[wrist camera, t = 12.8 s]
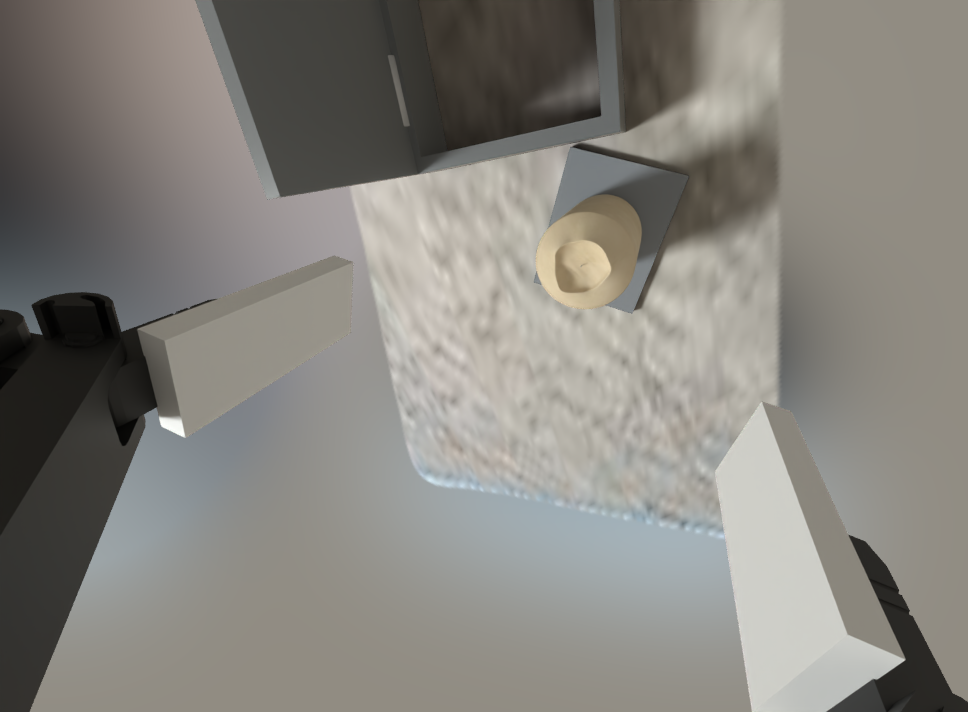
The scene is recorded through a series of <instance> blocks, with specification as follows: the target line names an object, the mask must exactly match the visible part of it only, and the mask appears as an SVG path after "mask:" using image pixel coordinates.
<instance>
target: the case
mask: <svg viewBox="0 0 968 712" xmlns="http://www.w3.org/2000/svg"><path fill="white" fill-rule="evenodd" d="M195 1H196V4H197V7H198V9H199V12H200V14H201V17H202V20H203V23H204V26H205V28H206V31H207V34H208V37H209V40H210V43H211V45H212V48H213V51H214V54H215V56H216V59H217V62H218V65H219V67H220V70H221V73H222V75H223V79H224V81H225V84H226V87H227V89H228V93H229V95H230V98H231V101H232V103H233V106H234V109H235V112H236V115H237V117H238V120H239V123H240V126H241V128H242V131H243V134H244V137H245V140H246V142H247V145H248V148H249V150H250V153H251V156H252V159H253V162H254V165H255V167H256V170H257V173H258V176H259V178H260V181H261V184H262V187H263V190H264V192H265V195H266V198H267V200H268V199H274V198H280V197H286V196H292V195H298V194H304V193H310V192H317V191H323V190H329V189H334V188H341V187H346V186H353V185H359V184H365V183H371V182H377V181H383V180H389V179H395V178H401V177H407V176H412V175H418V174H424V173H431V172H437V171H442V170H447V169H452V168H456V167H461V166H466V165H471V164H475V163H480V162H485V161H490V160H495V159H499V158H504V157H509V156H514V155H518V154H523V153H528V152H533V151H538V150H542V149H547V148H552V147H557V146H561V145H566V144H571V143H576V142H581V141H585V140H590V139H595V138H600V137H604V136H609V135H614V134H619V133H624V132H626V121H625V100H624V80H623V59H622V39H621V19H620V0H593V2H594V17H595V31H596V46H597V61H598V75H599V90H600V105H601V116H600V117H596V118H591V119H587V120H583V121H578V122H574V123H569V124H565V125H561V126H556V127H552V128H547V129H543V130H539V131H534V132H530V133H526V134H521V135H517V136H512V137H508V138H504V139H499V140H495V141H490V142H486V143H482V144H477V145H473V146H468V147H464V148H460V149H455V150H451V151H447V146H446V141H445V136H444V131H443V126H442V121H441V116H440V110H439V105H438V100H437V95H436V90H435V85H434V80H433V75H432V70H431V65H430V60H429V55H428V50H427V45H426V39H425V34H424V29H423V24H422V19H421V14H420V9H419V4H418V0H195Z"/></svg>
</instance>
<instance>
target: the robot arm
mask: <svg viewBox="0 0 968 712" xmlns="http://www.w3.org/2000/svg"><path fill="white" fill-rule="evenodd" d="M352 284H353V262H351V261H348V260H345V259H342V258H339V257H336V256H332V257H329V258H327V259H324V260H321V261H319V262H316V263H313V264H310V265H308V266H305V267H302V268H300V269H297V270H294V271H292V272H290V273H286V274H284V275H281V276H278V277H276V278H273V279H270V280H267V281H265V282H262V283H259V284H257V285H254V286H251V287H249V288H246V289H243V290H241V291H238V292H235V293H233V294H230V295H227V296H225V297H222V298H219V299H213V300H208V301H205V302H202V303H200V304H197V305H194V306H191V307H190V309H188V308H186V309H183V310H180V311H178V312H176V313H175V314H169V315H167V316H164V317H161V318H159V319H156V320H153V321H150V322H148V323H145V324H142V325H140V326H137V327H134V328H131V329H129V330H126V331H123V332H121V329H120V325H119V322H118V318H117V314H116V311H115V307H114V303H113V301H112V300H111V299H110V298H109V297H107V296H104V295H101V294H96V293H85V292H81V293H65V294H59V295H54V296H50V297H47V298H44V299H41V300H39V301H37V302H36V303H34V304H32V308H33V310H34V313H35V315H36V318H37V321H38V324H39V326H40V329H41V331H42V334H43V335H40V334H34V333H30V332H29V329H28V327H27V324H26V322H25V319H24V317H23V316H22V315H21V314H19V313H18V312H14V311H10V310H0V712H30V709H31V707H32V704H33V702H34V699H35V697H36V694H37V692H38V689H39V687H40V684H41V682H42V679H43V677H44V675H45V672H46V670H47V667H48V665H49V662H50V660H51V657H52V655H53V652H54V650H55V648H56V645H57V643H58V640H59V638H60V635H61V633H62V630H63V628H64V625H65V623H66V621H67V618H68V616H69V613H70V611H71V608H72V606H73V603H74V601H75V598H76V596H77V593H78V591H79V589H80V586H81V584H82V581H83V579H84V576H85V574H86V571H87V569H88V566H89V564H90V561H91V559H92V556H93V554H94V551H95V549H96V547H97V544H98V542H99V539H100V537H101V534H102V532H103V530H104V527H105V525H106V522H107V520H108V517H109V515H110V512H111V510H112V507H113V505H114V502H115V500H116V498H117V495H118V493H119V490H120V488H121V485H122V483H123V480H124V478H125V475H126V473H127V471H128V468H129V466H130V463H131V461H132V458H133V456H134V453H135V451H136V448H137V446H138V443H139V441H140V438H141V436H142V433H143V431H144V429H145V417H144V414H145V413H147V412H149V411H151V410H152V409H154V408H156V407H157V410H158V415H159V419H160V423H161V426H162V427H164V428H166V429H168V430H170V431H172V432H174V433H176V434H178V435H180V436H182V437H184V438H186V437H188V436H190V435H191V434H193V433H194V432H196V431H197V430H199V429H201V428H202V427H204V426H205V425H207V424H208V423H210V422H212V421H213V420H215V419H216V418H218V417H219V416H221V415H223V414H224V413H226V412H227V411H229V410H230V409H232V408H234V407H235V406H236V405H238V404H240V403H241V402H243V401H244V400H246V399H247V398H249V397H251V396H252V395H254V394H255V393H257V392H258V391H260V390H262V389H263V388H265V387H266V386H268V385H270V384H271V383H273V382H274V381H275V380H277V379H279V378H281V377H282V376H284V375H285V374H287V373H288V372H290V371H292V370H293V369H294V368H296V367H298V366H299V365H301V364H302V363H304V362H306V361H307V360H309V359H310V358H312V357H313V356H315V355H317V354H318V353H320V352H321V351H323V350H324V349H326V348H328V347H329V346H331V345H332V344H334V343H335V342H337V341H339V340H340V339H342V338H343V337H345V336H346V335H348V334H349V333H350V331H351V309H352ZM715 475H716V481H717V487H718V494H719V500H720V507H721V513H722V520H723V526H724V533H725V539H726V546H727V552H728V559H729V565H730V572H731V578H732V584H733V591H734V598H735V604H736V611H737V617H738V624H739V630H740V637H741V643H742V650H743V656H744V662H745V669H746V676H747V682H748V688H749V695H750V701H751V708H752V712H968V702H967V701H965V700H964V699H963V698H961V697H959V696H957V695H955V694H953V693H952V691H951V689H950V687H949V686H948V684H947V682H946V680H945V678H944V676H943V674H942V672H941V670H940V668H939V666H938V664H937V662H936V661H935V658H934V657H933V655H932V653H931V651H930V649H929V647H928V645H927V643H926V641H925V639H924V637H923V635H922V633H921V631H920V630H919V628H918V626H917V624H916V622H915V620H914V618H913V616H911V615H909V611H910V610H909V608H908V606H907V604H906V602H905V600H904V599H903V597H902V595H900V594H898V592H899V589H898V587H897V585H896V583H895V581H894V580H893V577H892V575H891V573H890V571H889V570H888V568H887V566H886V565H885V564H884V562H883V561H882V560H881V559H880V558H879V557H878V556H877V554H875V552H874V551H873V550H872V549H871V547H870V546H869V545H868V544H867V543H866V542H865V541H863V540H860V539H858V538H855V537H853V536H850V535H848V533H847V531H846V529H845V527H844V525H843V522H842V520H841V518H840V516H839V514H838V512H837V510H836V507H835V505H834V503H833V501H832V499H831V496H830V494H829V492H828V490H827V488H826V486H825V483H824V481H823V479H822V477H821V475H820V473H819V471H818V468H817V466H816V464H815V462H814V460H813V457H812V455H811V453H810V451H809V449H808V447H807V444H806V442H805V440H804V438H803V436H802V434H801V431H800V429H799V427H798V425H797V423H796V421H795V419H794V416H793V414H792V412H791V411H788V410H785V409H782V408H779V407H777V406H774V405H771V404H768V403H765V402H761V403H760V405H759V406H758V408H757V409H756V411H755V412H754V414H753V415H752V417H751V418H750V420H749V421H748V423H747V424H746V426H745V427H744V429H743V430H742V432H741V433H740V435H739V436H738V438H737V439H736V441H735V442H734V444H733V445H732V447H731V448H730V450H729V451H728V453H727V454H726V456H725V457H724V459H723V460H722V462H721V463H720V465H719V466H718V468H717V470H716V471H715Z"/></svg>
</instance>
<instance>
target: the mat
mask: <svg viewBox="0 0 968 712" xmlns="http://www.w3.org/2000/svg"><path fill="white" fill-rule="evenodd" d="M688 178H689V176H688V175H684V174H680V173H676V172H672V171H668V170H664V169H660V168H656V167H652V166H648V165H644V164H640V163H636V162H631V161H627V160H623V159H619V158H615V157H611V156H607V155H603V154H599V153H595V152H591V151H587V150H583V149H579V148H575V147H570V150H569V153H568V157H567V161H566V164H565V168H564V172H563V176H562V179H561V183H560V187H559V190H558V194H557V198H556V201H555V205H554V209H553V212H552V216H551V220H550V223H549V227H550V226H551V225H552V224H553V223H554V222H556V221H557V220H558V219H559V218H561V217H562V216H563V215H564V214H566V213H567V212H568V211H570V210H571V209H572V208H573V207H575V206H576V205H577V204H579V203H580V202H581V201H583V200H585V199H587V198H589V197H592V196H595V195H601V194H608V195H614V196H617V197H620V198H622V199H624V200H625V201H627V202H628V203H629V204H630V205H631V206H632V207H633V208H634V209H635V211H636V212H637V214H638V216H639V218H640V222H641V227H642V236H641V243H640V248H639V252H638V257H637V262H636V267H635V271H634V274H633V277H632V279H631V282H630V283H629V285H628V287H627V288H626V289H625V291H624V292H623V293H622V294H621V295H620V296H619V297H618V298H616V299H615V300H614V301H612V302H610V303H609V304H606V306H609V307H613V308H616V309H619V310H622V311H625V312H628V313H631V314H632V313H633V311H634V308H635V306H636V303H637V301H638V299H639V296H640V294H641V291H642V289H643V287H644V284H645V282H646V279H647V277H648V274H649V272H650V270H651V267H652V265H653V262H654V260H655V258H656V255H657V253H658V250H659V248H660V245H661V243H662V241H663V238H664V236H665V233H666V231H667V228H668V226H669V224H670V221H671V219H672V216H673V214H674V212H675V209H676V207H677V204H678V202H679V199H680V197H681V195H682V192H683V190H684V187H685V185H686V183H687V180H688ZM549 227H548V228H549ZM534 283H538V284H541V285H542V283H541V282H540V279H539V277H538V273H537V271H536V275H535V279H534Z"/></svg>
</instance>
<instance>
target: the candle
mask: <svg viewBox="0 0 968 712" xmlns="http://www.w3.org/2000/svg"><path fill="white" fill-rule="evenodd" d="M641 236H642V227H641V222H640V218H639V216H638V214H637V212H636V211H635V209H634V208H633V207H632V206H631V205H630V204H629V203H628V202H627V201H625V200H624V199H622V198H620V197H617V196H614V195H608V194H601V195H595V196H592V197H589V198H587V199H585V200H583V201H581V202H580V203H579V204H577V205H576V206H575V207H573V208H572V209H571V210H570V211H568V212H567V213H566V214H564V215H563V216H562V217H561V218H559V219H558V220H557V221H556V222H554V223H553V224H552V225H551V226H550V227H549V228H548V229H547V231H546V232H545V233H544V235H543V236H542V238H541V240H540V243H539V245H538V248H537V253H536V269H537V273H538V277H539V279H540V282H541V283H542V285H543V287H544V288H545V290H546V291H547V292H548V293H549V294H550V295H551V296H552V297H553V298H554V299H555V300H557V301H558V302H560V303H562V304H564V305H566V306H569V307H572V308H577V309H593V308H598V307H601V306H604V305H606V304H609V303H610V302H612V301H614V300H615V299H616V298H618V297H619V296H620V295H621V294H622V293H623V292H624V291H625V289H626V288H627V287H628V285H629V283H630V282H631V279H632V277H633V274H634V271H635V267H636V262H637V257H638V252H639V248H640V243H641Z"/></svg>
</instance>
